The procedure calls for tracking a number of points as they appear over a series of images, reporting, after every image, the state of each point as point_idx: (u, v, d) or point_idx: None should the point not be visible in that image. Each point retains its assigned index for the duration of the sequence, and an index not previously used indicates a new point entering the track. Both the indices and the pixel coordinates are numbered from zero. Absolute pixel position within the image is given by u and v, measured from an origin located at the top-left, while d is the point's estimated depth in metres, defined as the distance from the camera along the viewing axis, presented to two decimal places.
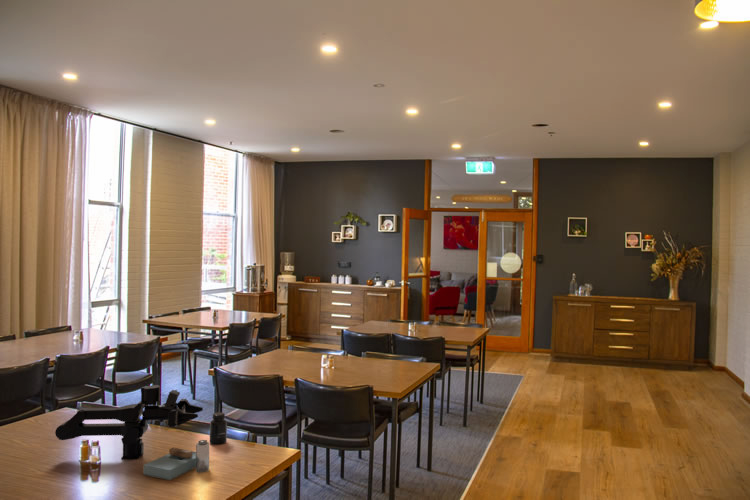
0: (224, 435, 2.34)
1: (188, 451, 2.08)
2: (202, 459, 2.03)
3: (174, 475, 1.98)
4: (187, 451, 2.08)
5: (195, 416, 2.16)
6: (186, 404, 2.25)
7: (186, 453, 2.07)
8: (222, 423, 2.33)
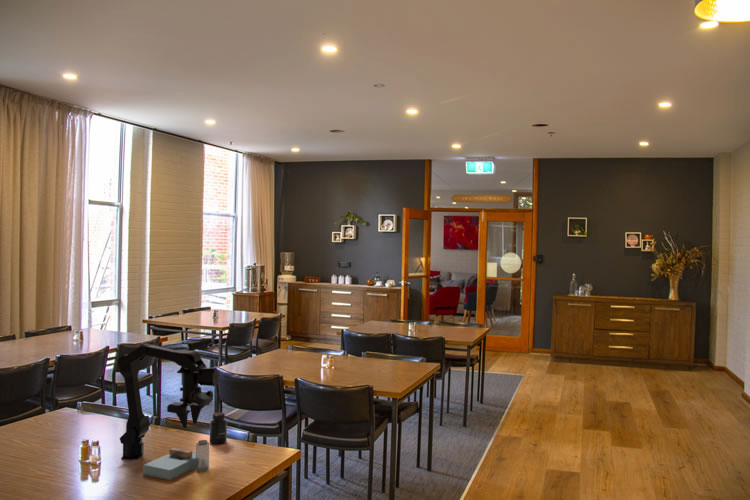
0: (224, 435, 2.34)
1: (188, 451, 2.08)
2: (202, 459, 2.03)
3: (174, 475, 1.98)
4: (187, 451, 2.08)
5: (183, 425, 2.13)
6: (199, 407, 2.18)
7: (186, 453, 2.07)
8: (222, 423, 2.33)
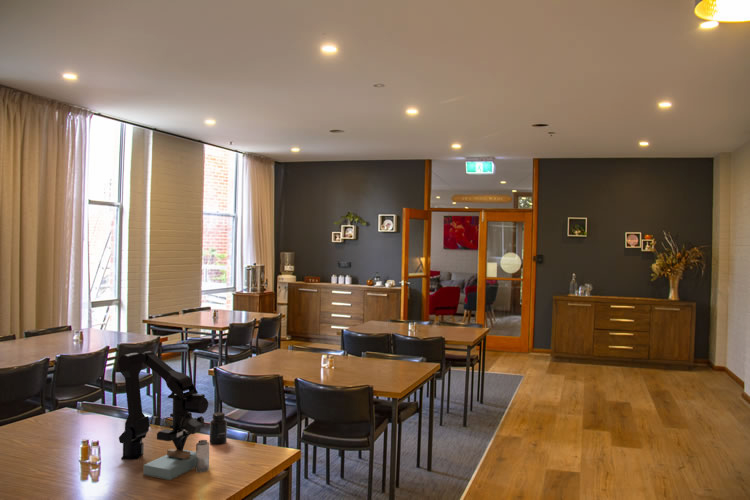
0: (224, 435, 2.34)
1: (186, 452, 2.07)
2: (202, 459, 2.03)
3: (174, 475, 1.98)
4: (185, 452, 2.07)
5: None
6: None
7: (184, 454, 2.06)
8: (222, 423, 2.33)
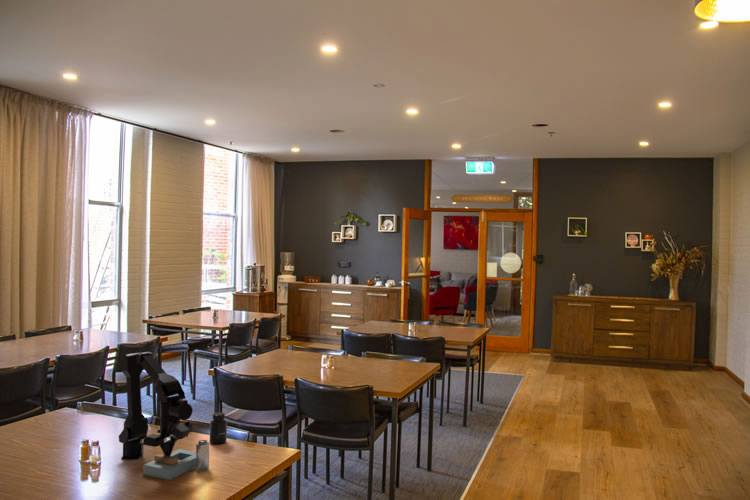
0: (224, 435, 2.34)
1: (174, 458, 2.01)
2: (202, 459, 2.03)
3: (174, 475, 1.98)
4: (173, 458, 2.01)
5: None
6: (173, 440, 2.05)
7: (172, 460, 2.00)
8: (222, 423, 2.33)
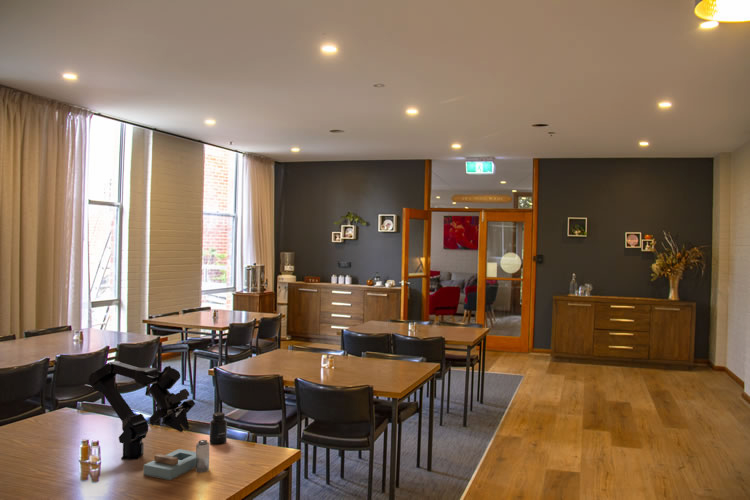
0: (224, 435, 2.34)
1: (174, 458, 2.01)
2: (202, 459, 2.03)
3: (174, 475, 1.98)
4: (173, 458, 2.01)
5: (180, 430, 2.07)
6: (182, 411, 2.12)
7: (172, 460, 2.00)
8: (222, 423, 2.33)
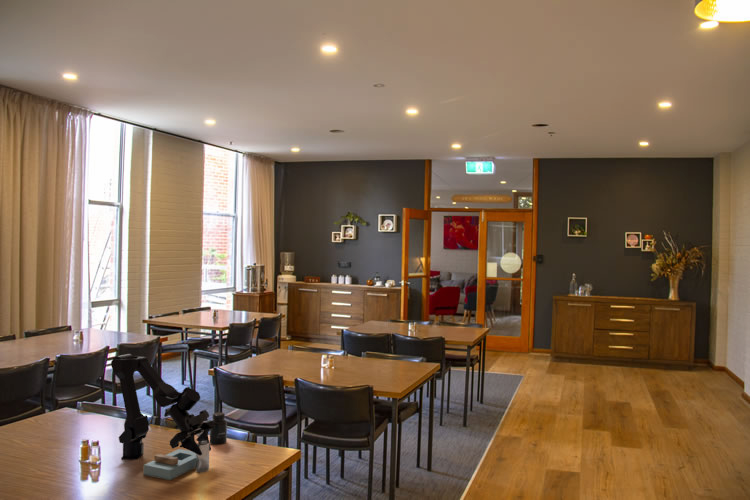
0: (224, 435, 2.34)
1: (174, 458, 2.01)
2: (202, 459, 2.03)
3: (174, 475, 1.98)
4: (173, 458, 2.01)
5: (198, 453, 2.03)
6: (204, 432, 2.09)
7: (172, 460, 2.00)
8: (222, 423, 2.33)
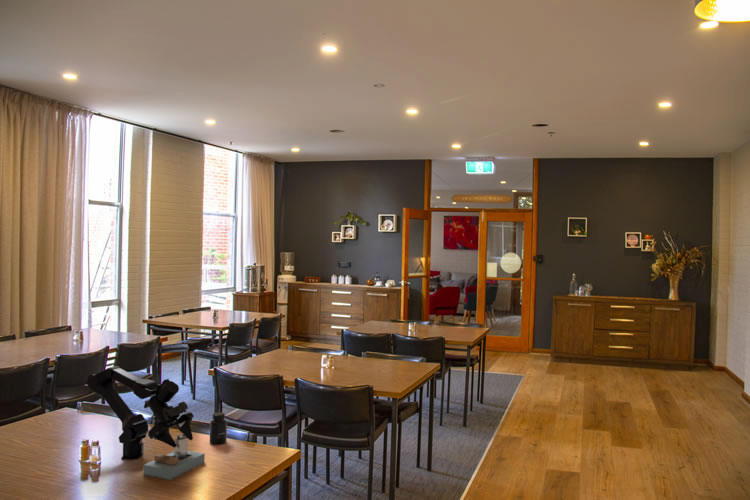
0: (224, 435, 2.34)
1: (174, 458, 2.01)
2: (180, 453, 2.07)
3: (174, 475, 1.98)
4: (173, 458, 2.01)
5: (173, 445, 2.05)
6: (186, 422, 2.15)
7: (172, 460, 2.00)
8: (222, 423, 2.33)
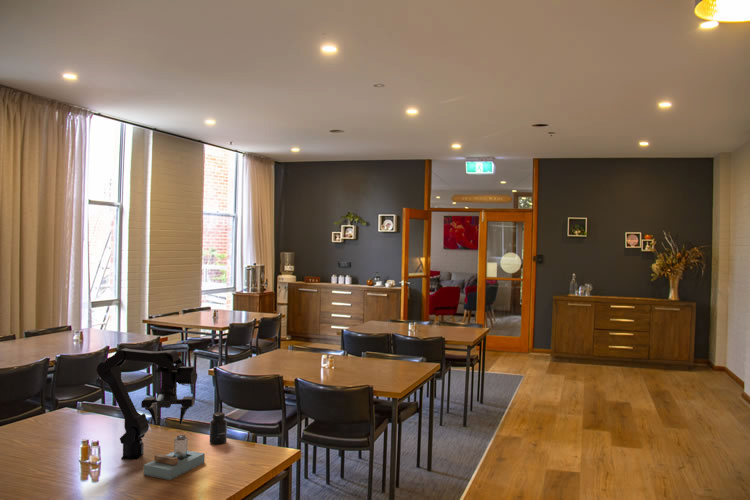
0: (224, 435, 2.34)
1: (174, 458, 2.01)
2: (179, 453, 2.07)
3: (174, 475, 1.98)
4: (173, 458, 2.01)
5: None
6: (181, 408, 2.16)
7: (172, 460, 2.00)
8: (222, 423, 2.33)
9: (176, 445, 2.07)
